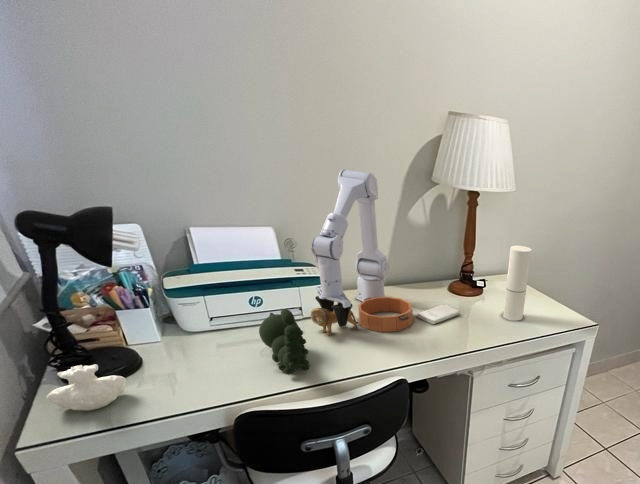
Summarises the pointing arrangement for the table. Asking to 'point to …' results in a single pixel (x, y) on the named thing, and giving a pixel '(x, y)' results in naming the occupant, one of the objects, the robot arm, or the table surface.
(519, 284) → the cylindrical container
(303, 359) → the toy figurine
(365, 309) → the orange round basin
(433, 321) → the hard drive
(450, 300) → the table surface
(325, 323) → the lion figurine
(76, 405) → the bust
